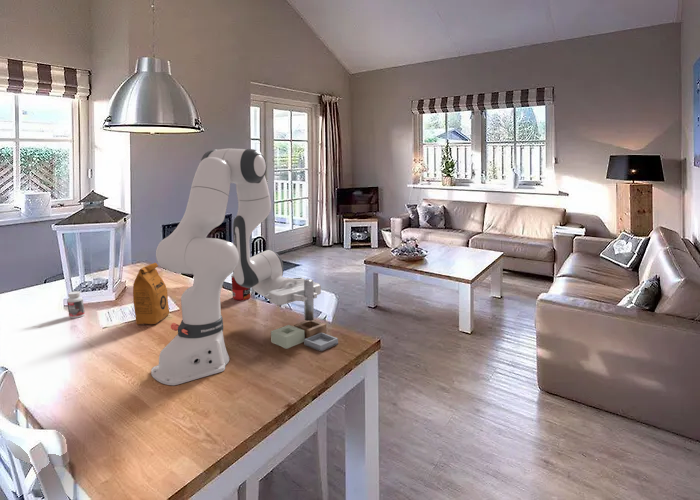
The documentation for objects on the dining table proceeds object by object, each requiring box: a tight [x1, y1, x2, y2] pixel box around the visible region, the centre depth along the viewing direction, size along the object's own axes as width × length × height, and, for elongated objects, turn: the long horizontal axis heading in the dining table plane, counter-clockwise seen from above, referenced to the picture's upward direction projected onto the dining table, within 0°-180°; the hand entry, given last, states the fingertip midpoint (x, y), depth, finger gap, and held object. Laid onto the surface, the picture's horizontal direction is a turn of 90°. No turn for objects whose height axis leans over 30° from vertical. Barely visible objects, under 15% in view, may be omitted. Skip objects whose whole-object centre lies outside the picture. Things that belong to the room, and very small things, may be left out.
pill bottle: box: [66, 290, 86, 319], centre depth 180 cm, size 5×5×10 cm
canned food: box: [231, 273, 252, 302], centre depth 201 cm, size 8×8×11 cm
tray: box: [303, 332, 339, 352], centre depth 152 cm, size 8×8×2 cm
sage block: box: [270, 324, 305, 350], centre depth 154 cm, size 8×8×4 cm
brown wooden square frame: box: [293, 319, 328, 339], centre depth 160 cm, size 8×8×4 cm
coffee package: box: [132, 262, 170, 326], centre depth 173 cm, size 10×12×22 cm
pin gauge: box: [303, 278, 315, 321], centre depth 157 cm, size 3×3×14 cm
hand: (310, 297), depth 156 cm, fingers closed on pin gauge, 3 cm apart
